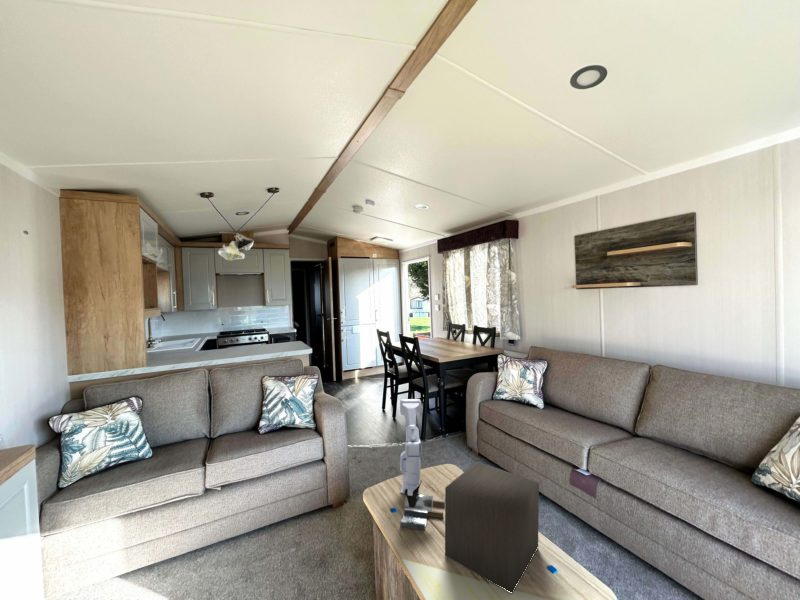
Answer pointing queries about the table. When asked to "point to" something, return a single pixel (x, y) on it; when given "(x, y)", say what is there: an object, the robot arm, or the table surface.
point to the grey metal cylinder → (422, 502)
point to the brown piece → (436, 513)
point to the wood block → (492, 523)
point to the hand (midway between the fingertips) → (413, 502)
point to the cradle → (414, 519)
